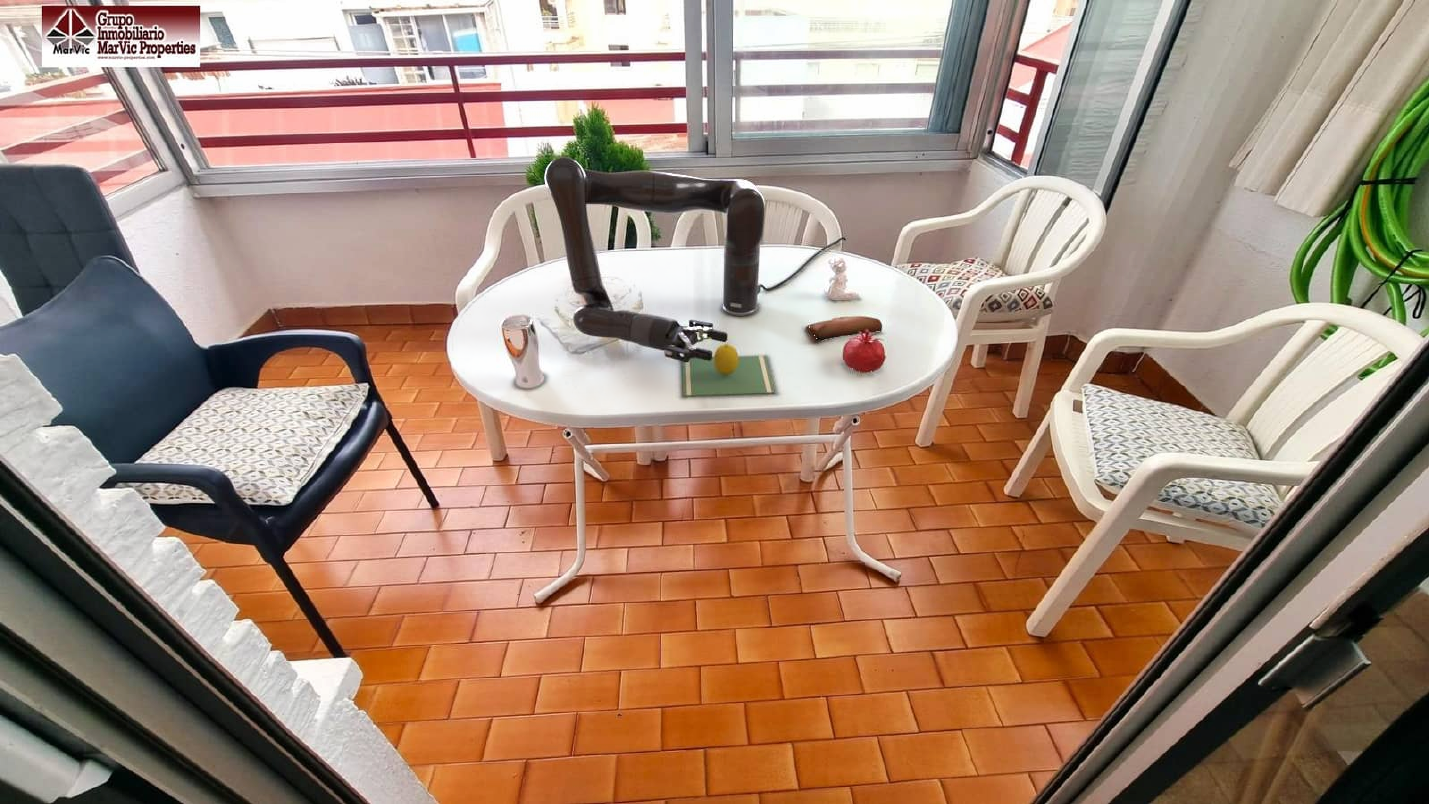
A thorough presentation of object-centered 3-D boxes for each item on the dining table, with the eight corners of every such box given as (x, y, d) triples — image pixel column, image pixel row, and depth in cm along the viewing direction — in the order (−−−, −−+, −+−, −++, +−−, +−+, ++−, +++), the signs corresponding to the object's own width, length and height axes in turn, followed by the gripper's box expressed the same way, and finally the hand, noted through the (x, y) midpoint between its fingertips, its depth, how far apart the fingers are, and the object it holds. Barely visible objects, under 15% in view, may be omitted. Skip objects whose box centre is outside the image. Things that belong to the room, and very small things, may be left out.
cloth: (682, 359, 137) (682, 358, 137) (765, 357, 138) (765, 355, 138) (683, 396, 125) (683, 395, 125) (774, 393, 126) (774, 392, 126)
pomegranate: (856, 382, 130) (863, 346, 124) (832, 360, 137) (837, 325, 132) (892, 372, 133) (900, 337, 128) (867, 351, 140) (873, 317, 135)
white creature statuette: (859, 298, 163) (866, 258, 156) (837, 306, 159) (843, 265, 152) (836, 286, 169) (842, 247, 162) (814, 294, 165) (819, 254, 158)
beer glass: (517, 372, 132) (503, 314, 123) (548, 371, 133) (536, 313, 124) (511, 390, 127) (496, 330, 118) (543, 388, 127) (530, 329, 118)
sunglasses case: (865, 317, 153) (875, 303, 147) (874, 340, 151) (885, 327, 145) (803, 326, 149) (810, 312, 143) (811, 350, 147) (819, 337, 141)
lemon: (735, 382, 129) (736, 352, 124) (711, 379, 130) (711, 349, 125) (739, 369, 133) (740, 339, 128) (716, 366, 134) (716, 336, 129)
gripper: (638, 332, 125) (706, 347, 120) (668, 304, 136) (731, 317, 131) (641, 361, 130) (706, 377, 125) (669, 332, 140) (731, 345, 135)
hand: (719, 346), depth 128 cm, fingers open, 8 cm apart
